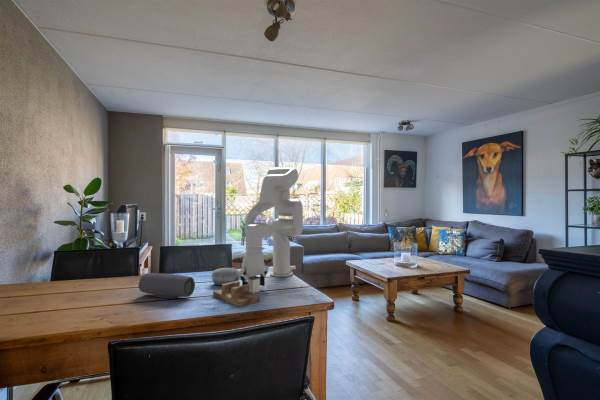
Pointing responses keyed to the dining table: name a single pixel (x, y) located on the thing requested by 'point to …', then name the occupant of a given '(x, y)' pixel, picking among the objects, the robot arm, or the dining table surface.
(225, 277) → the grey yarn ball
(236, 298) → the notched board
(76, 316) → the dining table surface
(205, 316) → the dining table surface
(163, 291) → the bluetooth speaker
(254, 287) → the white rectangular block
